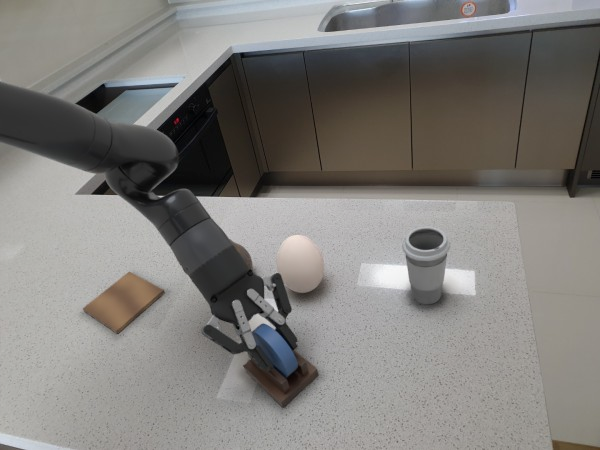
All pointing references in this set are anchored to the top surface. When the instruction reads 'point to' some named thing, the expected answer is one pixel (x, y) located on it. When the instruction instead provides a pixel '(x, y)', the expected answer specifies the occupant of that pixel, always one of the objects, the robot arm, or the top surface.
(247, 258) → the vase
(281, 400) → the rack
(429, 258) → the cup
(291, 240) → the egg
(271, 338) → the disc
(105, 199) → the top surface
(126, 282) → the plate
